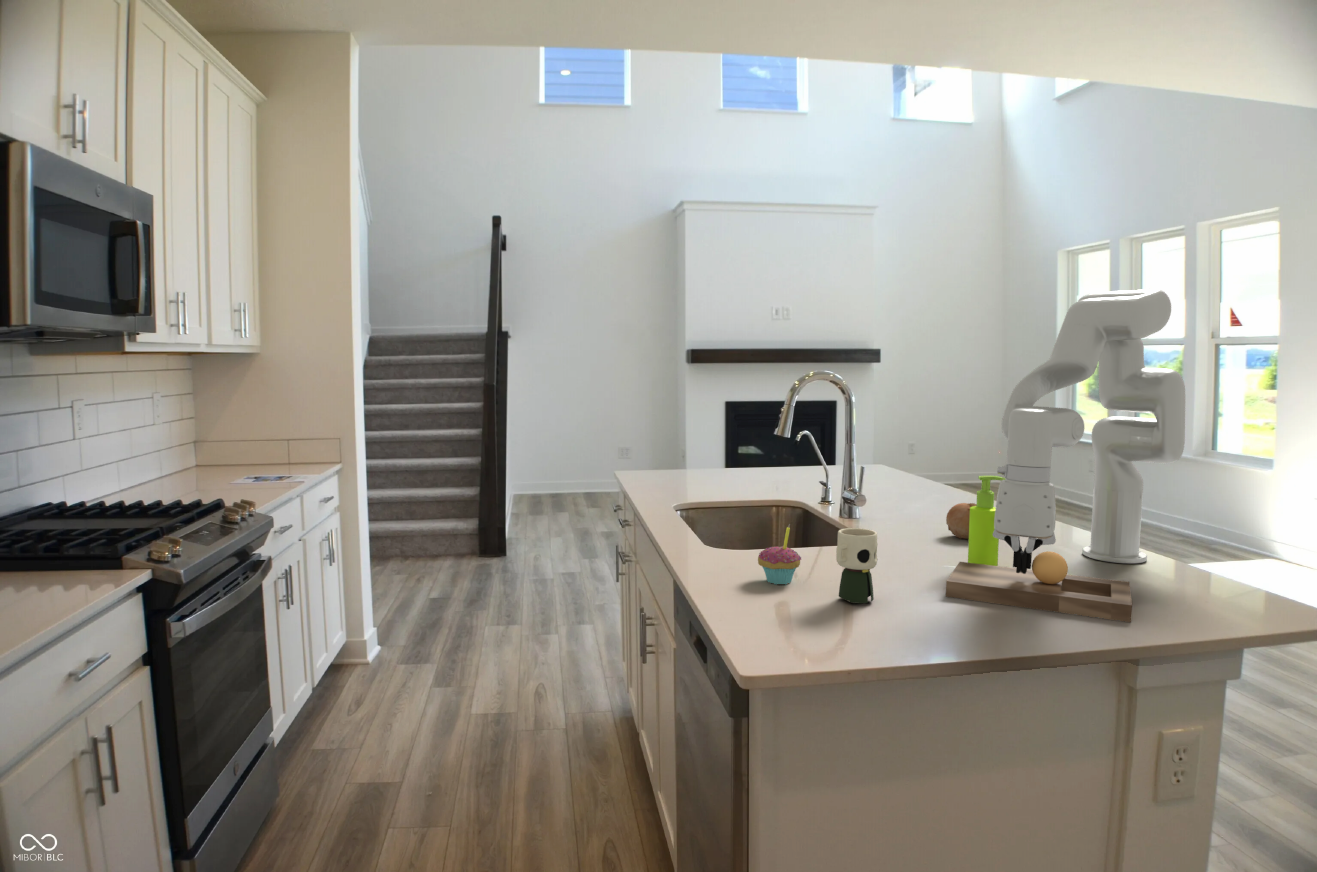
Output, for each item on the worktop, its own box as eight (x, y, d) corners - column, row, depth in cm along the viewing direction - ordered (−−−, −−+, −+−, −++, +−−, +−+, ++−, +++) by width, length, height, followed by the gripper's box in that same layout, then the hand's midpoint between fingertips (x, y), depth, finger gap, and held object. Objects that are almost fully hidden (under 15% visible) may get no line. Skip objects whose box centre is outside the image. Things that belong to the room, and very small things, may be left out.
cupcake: (805, 578, 160) (806, 520, 159) (793, 589, 153) (794, 529, 152) (764, 573, 164) (765, 517, 163) (751, 584, 156) (752, 525, 155)
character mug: (852, 611, 140) (853, 539, 138) (821, 601, 145) (822, 532, 144) (890, 600, 146) (892, 531, 145) (859, 591, 152) (861, 524, 151)
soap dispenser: (1005, 573, 164) (1009, 478, 162) (970, 572, 165) (974, 477, 163) (999, 566, 170) (1003, 474, 168) (965, 564, 171) (968, 473, 169)
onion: (980, 552, 194) (998, 519, 190) (943, 541, 194) (961, 509, 189) (971, 530, 203) (988, 499, 198) (936, 520, 202) (952, 488, 198)
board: (959, 575, 162) (959, 561, 162) (1128, 597, 148) (1129, 581, 148) (945, 596, 149) (946, 580, 148) (1131, 622, 134) (1132, 605, 134)
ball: (1024, 567, 151) (1041, 541, 149) (1054, 583, 149) (1071, 557, 148) (1027, 578, 145) (1044, 551, 143) (1058, 594, 144) (1077, 568, 142)
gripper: (981, 473, 147) (976, 570, 149) (1071, 480, 140) (1065, 582, 141) (987, 469, 154) (982, 562, 155) (1073, 476, 146) (1067, 573, 148)
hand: (1021, 571), depth 148 cm, fingers closed
